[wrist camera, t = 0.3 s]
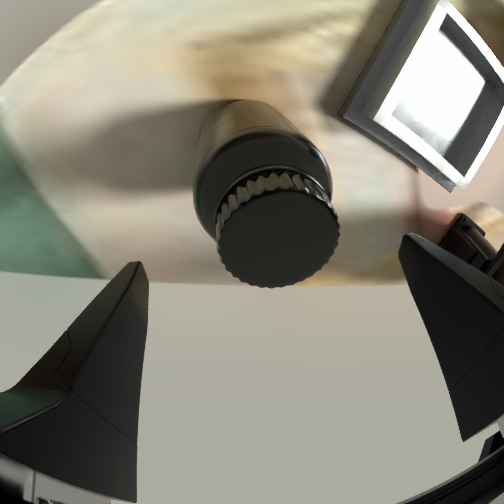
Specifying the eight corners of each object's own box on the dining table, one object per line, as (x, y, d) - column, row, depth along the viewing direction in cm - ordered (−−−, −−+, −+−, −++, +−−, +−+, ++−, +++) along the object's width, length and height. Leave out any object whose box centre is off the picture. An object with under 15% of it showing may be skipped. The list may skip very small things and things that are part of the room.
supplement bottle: (214, 196, 23) (217, 320, 13) (186, 113, 19) (154, 190, 9) (300, 174, 22) (362, 283, 13) (284, 89, 18) (360, 138, 9)
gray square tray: (504, 82, 17) (525, 91, 15) (444, 188, 24) (462, 204, 22) (413, -19, 12) (436, -22, 10) (337, 114, 20) (354, 124, 17)
